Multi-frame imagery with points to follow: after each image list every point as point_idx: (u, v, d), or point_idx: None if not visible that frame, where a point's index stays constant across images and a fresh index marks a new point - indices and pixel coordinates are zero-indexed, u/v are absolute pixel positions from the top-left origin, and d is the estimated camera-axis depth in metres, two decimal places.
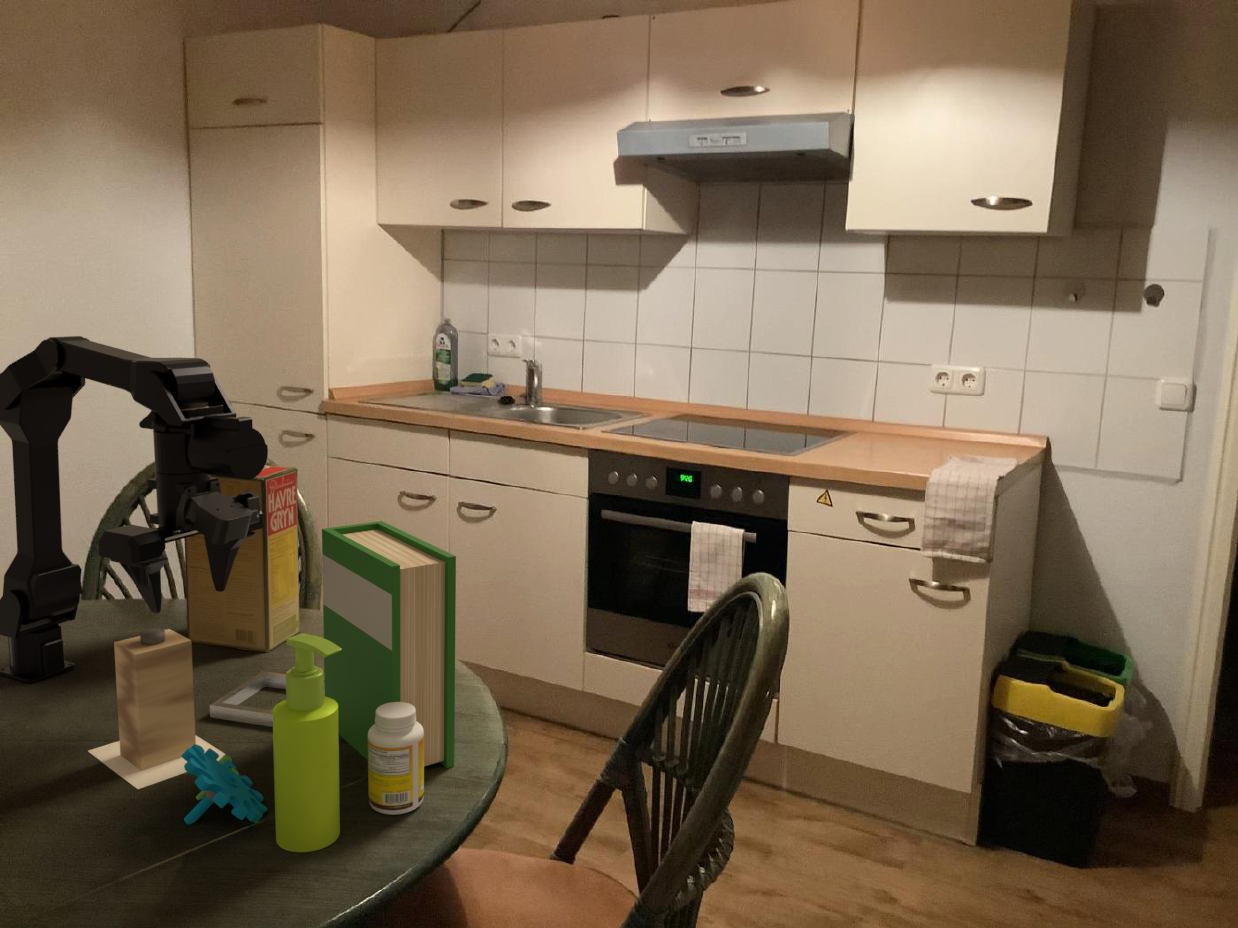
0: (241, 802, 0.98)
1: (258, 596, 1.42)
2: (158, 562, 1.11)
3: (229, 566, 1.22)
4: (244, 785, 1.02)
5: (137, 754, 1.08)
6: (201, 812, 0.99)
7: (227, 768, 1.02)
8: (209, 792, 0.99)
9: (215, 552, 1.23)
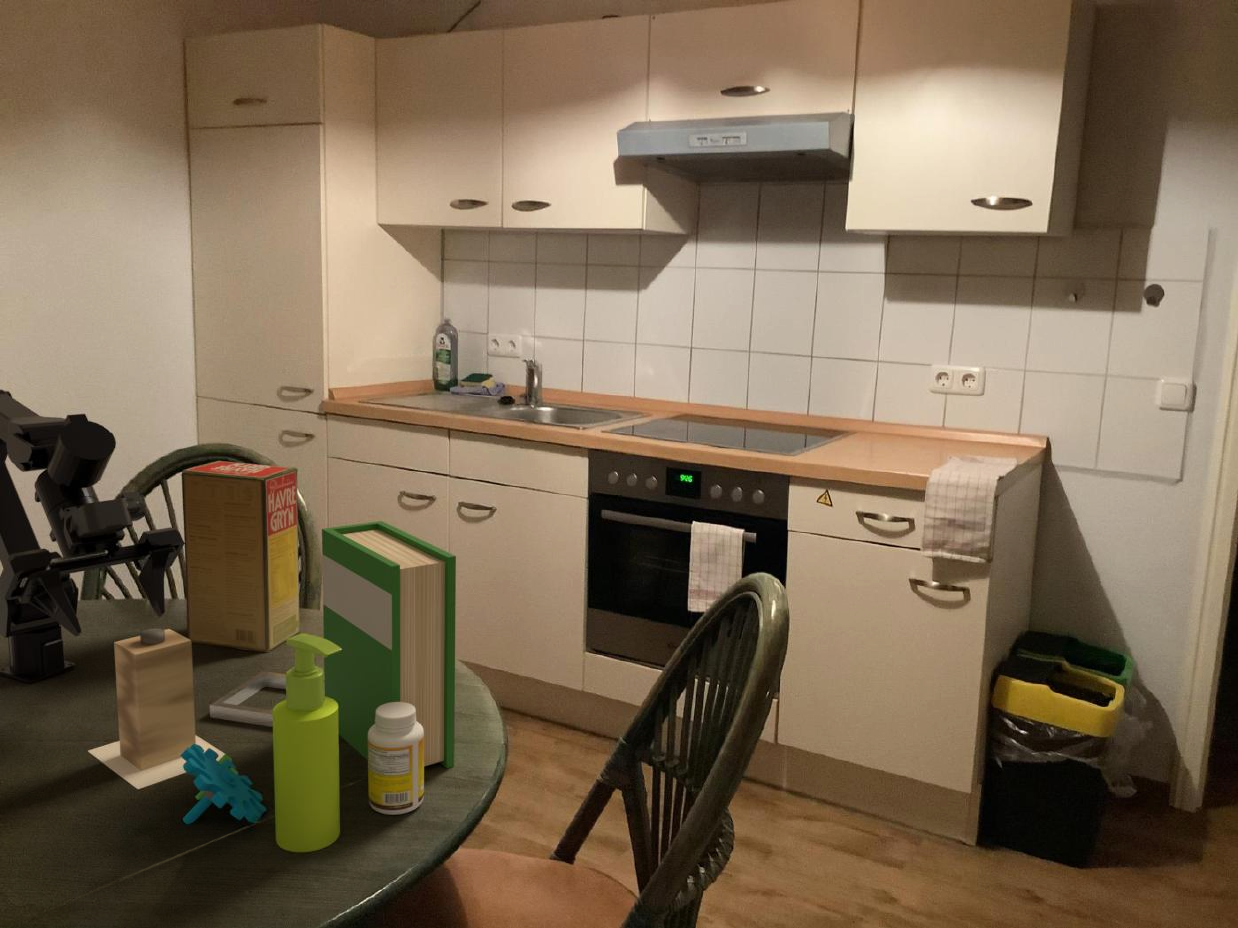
0: (240, 802, 0.98)
1: (258, 596, 1.42)
2: (47, 572, 1.10)
3: (159, 586, 1.19)
4: (243, 785, 1.02)
5: (137, 754, 1.08)
6: (200, 812, 0.99)
7: (226, 768, 1.02)
8: (208, 792, 0.99)
9: (147, 584, 1.20)
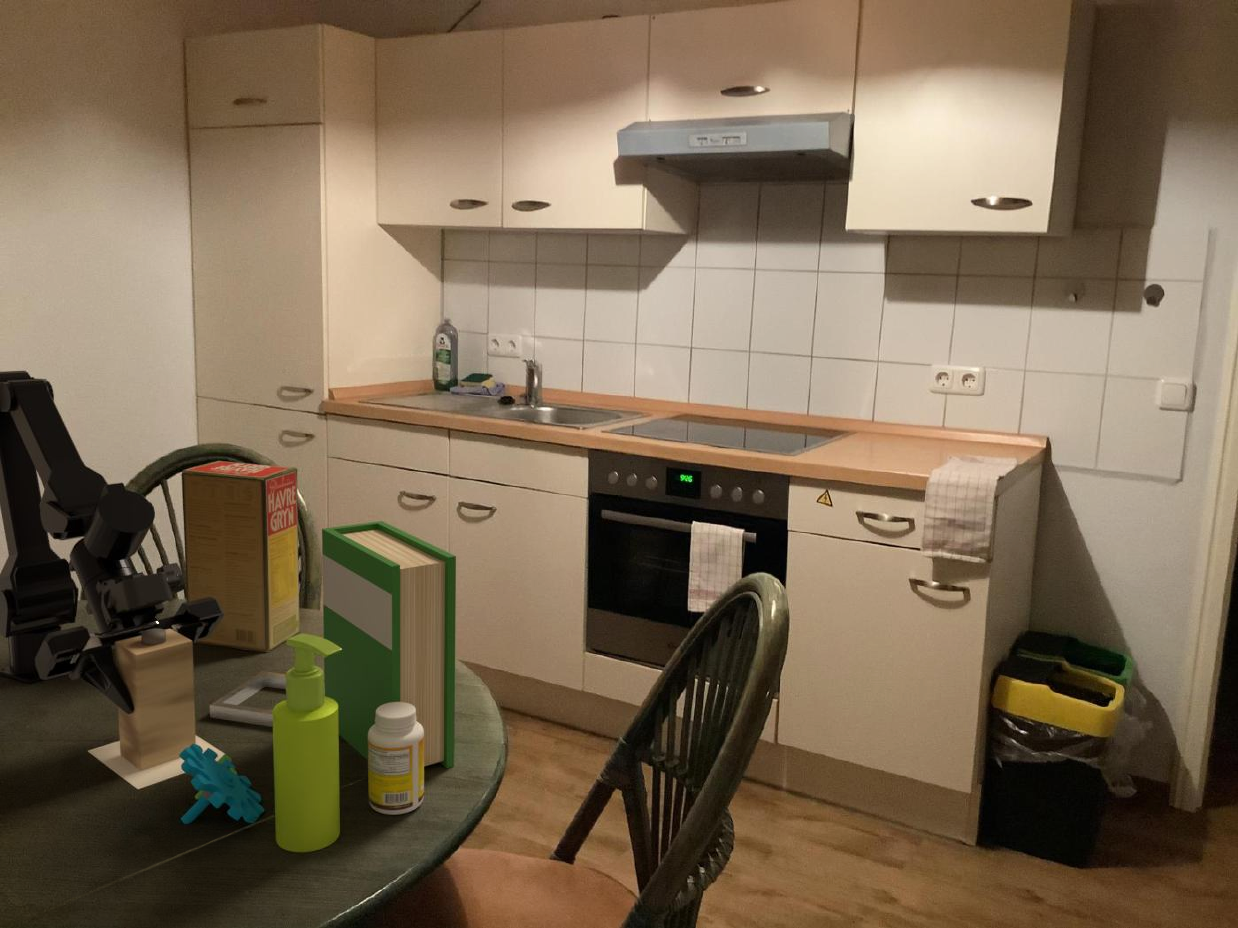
0: (237, 802, 0.97)
1: (258, 596, 1.42)
2: (99, 648, 1.07)
3: None
4: (242, 785, 1.02)
5: (137, 754, 1.08)
6: (198, 812, 0.99)
7: (225, 768, 1.02)
8: (206, 792, 0.99)
9: None
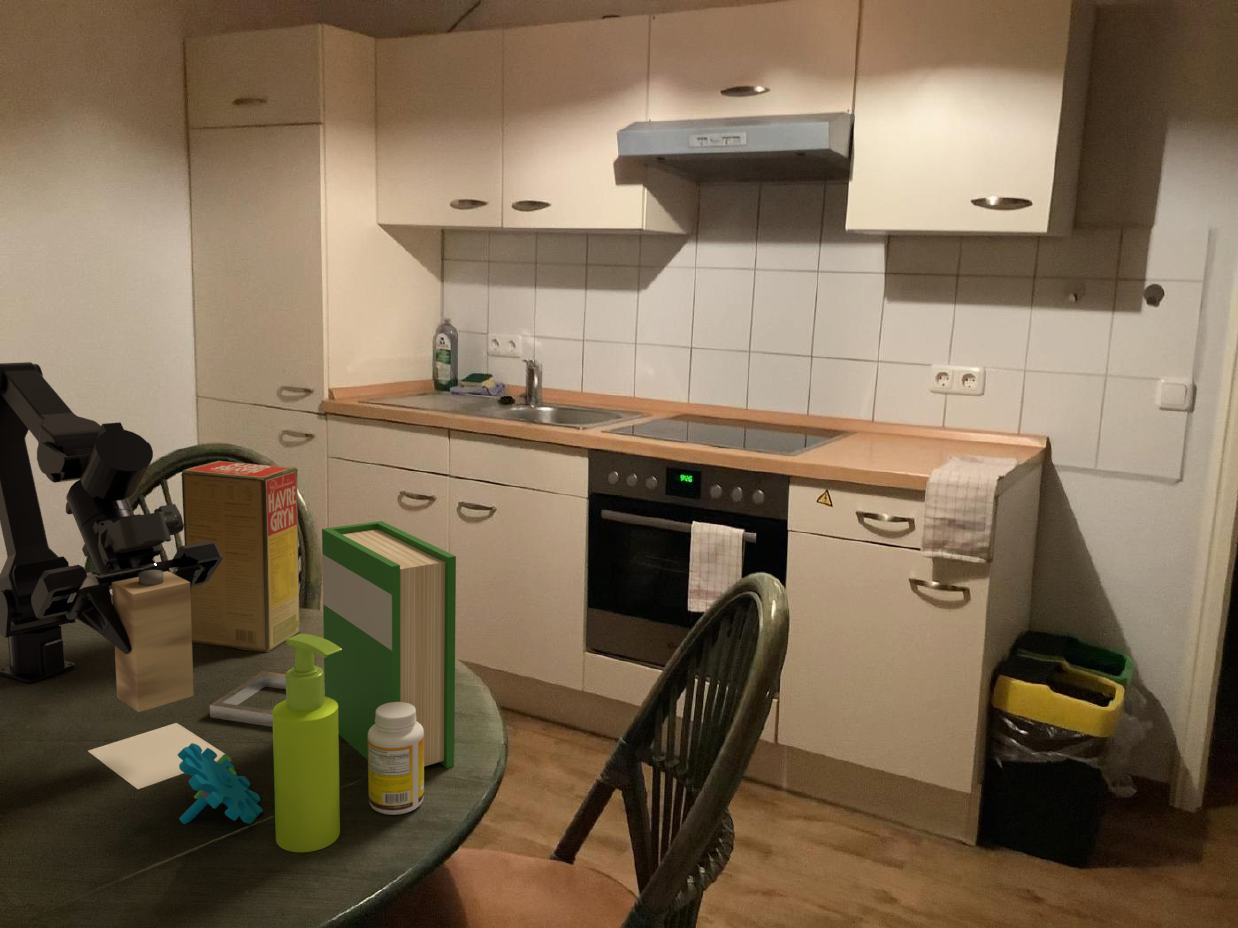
0: (235, 803, 0.97)
1: (258, 596, 1.42)
2: (97, 587, 1.06)
3: None
4: (241, 785, 1.02)
5: (134, 696, 1.07)
6: (196, 811, 0.99)
7: (224, 768, 1.02)
8: (204, 792, 0.99)
9: None
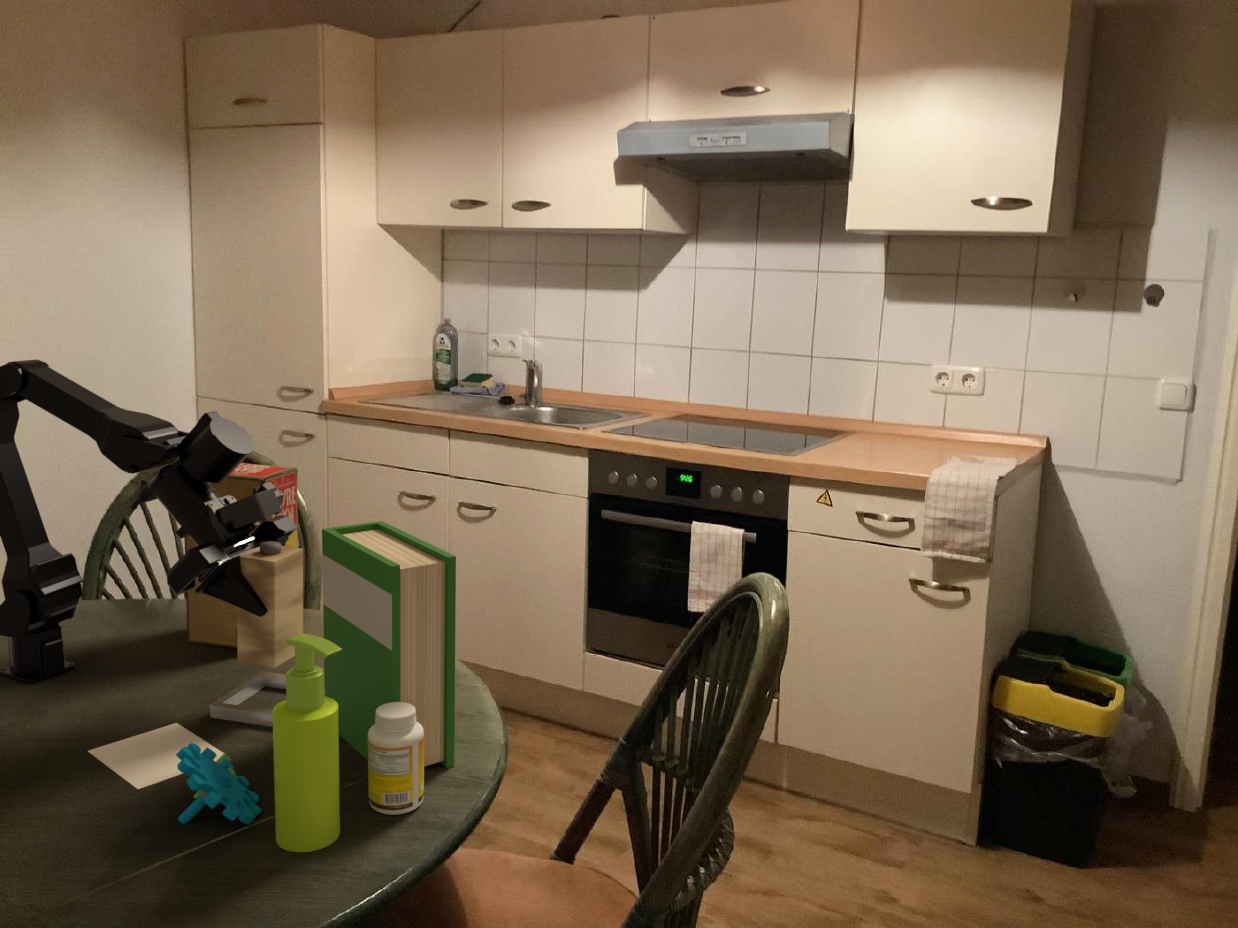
0: (233, 803, 0.97)
1: None
2: (234, 559, 1.17)
3: None
4: (240, 785, 1.02)
5: (269, 654, 1.20)
6: (195, 811, 0.99)
7: (223, 768, 1.02)
8: (203, 792, 0.99)
9: None
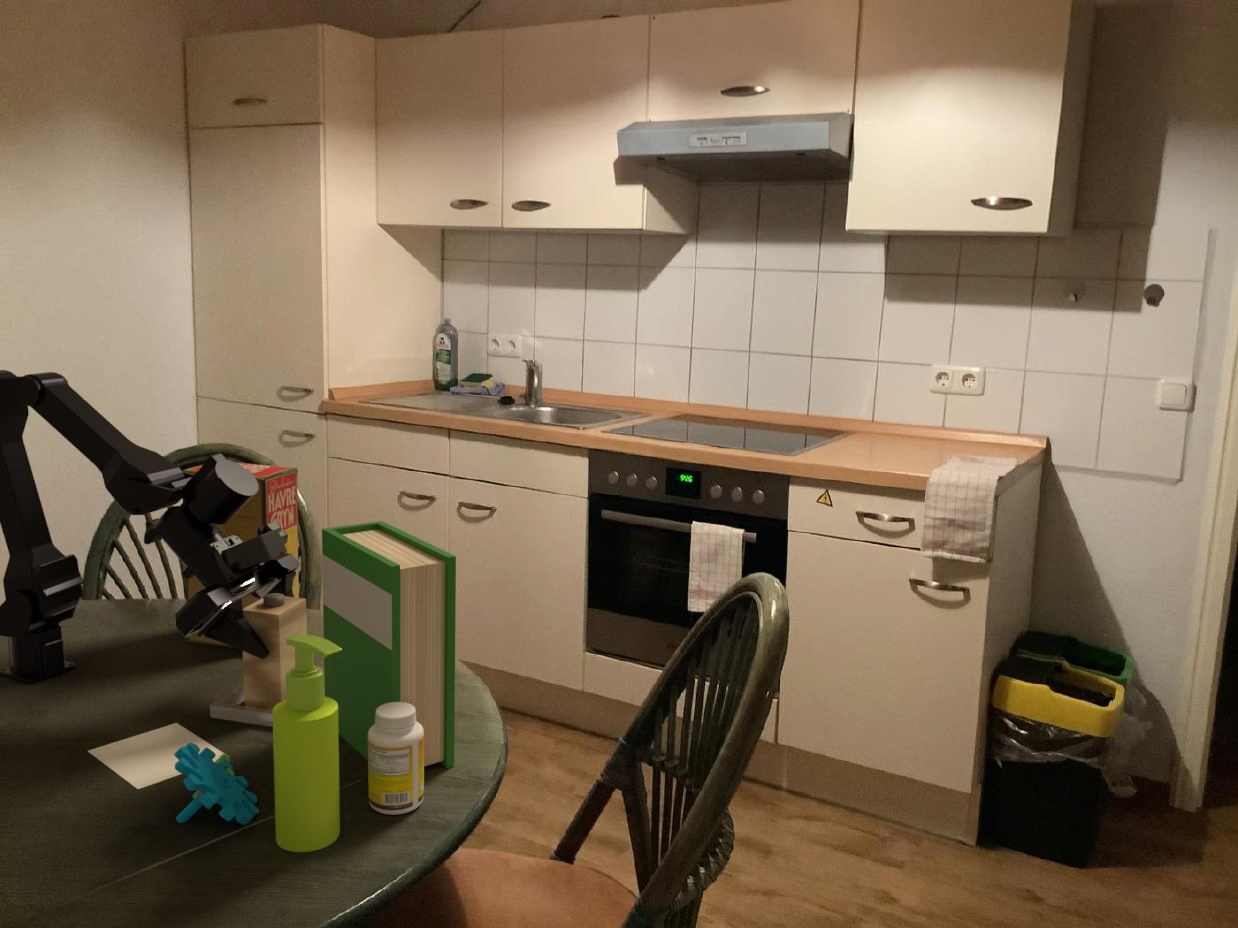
0: (230, 803, 0.97)
1: None
2: (236, 603, 1.18)
3: None
4: (238, 786, 1.02)
5: (276, 704, 1.22)
6: (193, 811, 0.99)
7: (222, 768, 1.02)
8: (201, 792, 0.99)
9: None
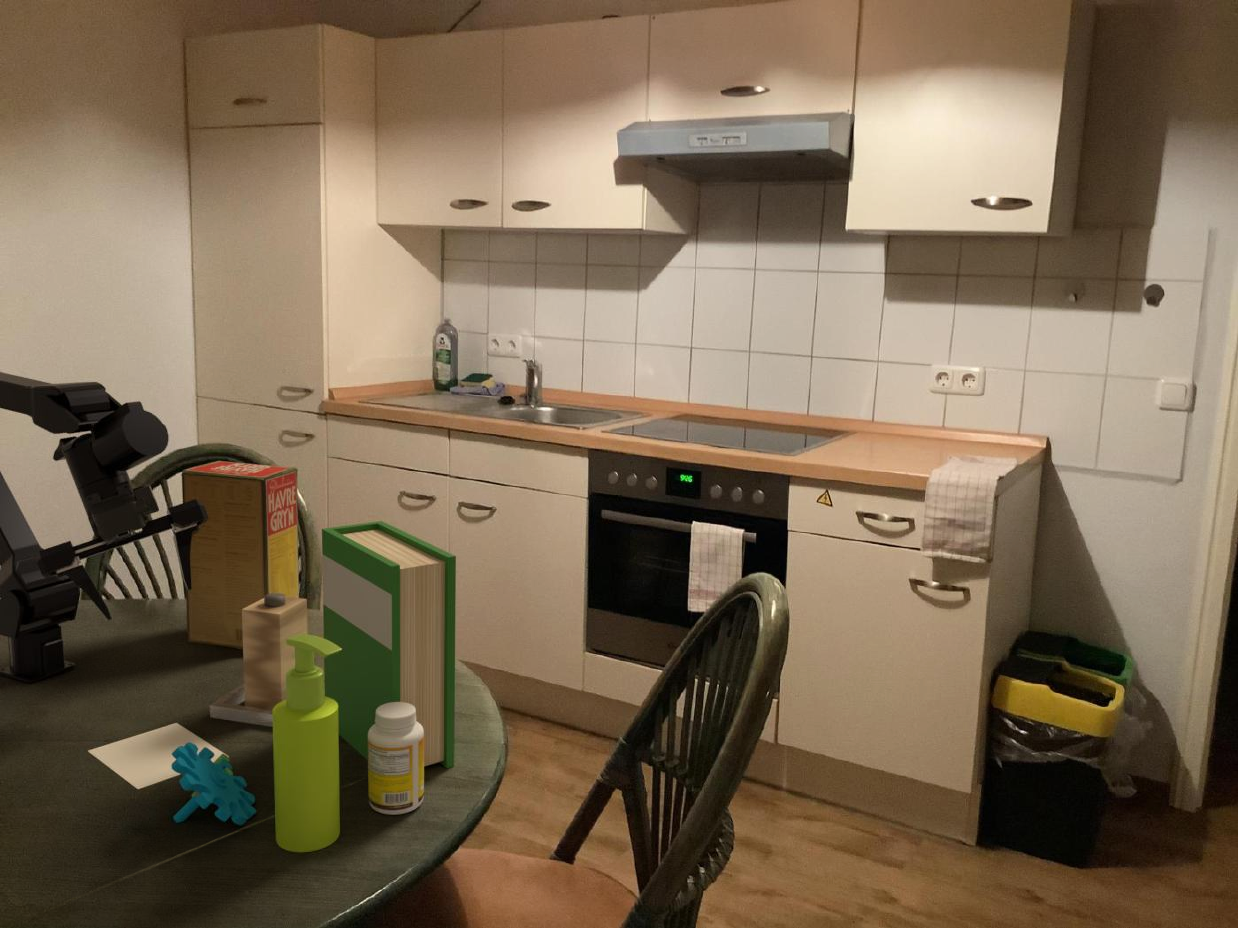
0: (226, 804, 0.97)
1: (258, 596, 1.42)
2: (72, 570, 1.17)
3: (185, 563, 1.23)
4: (236, 786, 1.02)
5: (276, 704, 1.22)
6: (190, 811, 0.99)
7: (220, 768, 1.02)
8: (198, 791, 0.99)
9: (177, 554, 1.25)
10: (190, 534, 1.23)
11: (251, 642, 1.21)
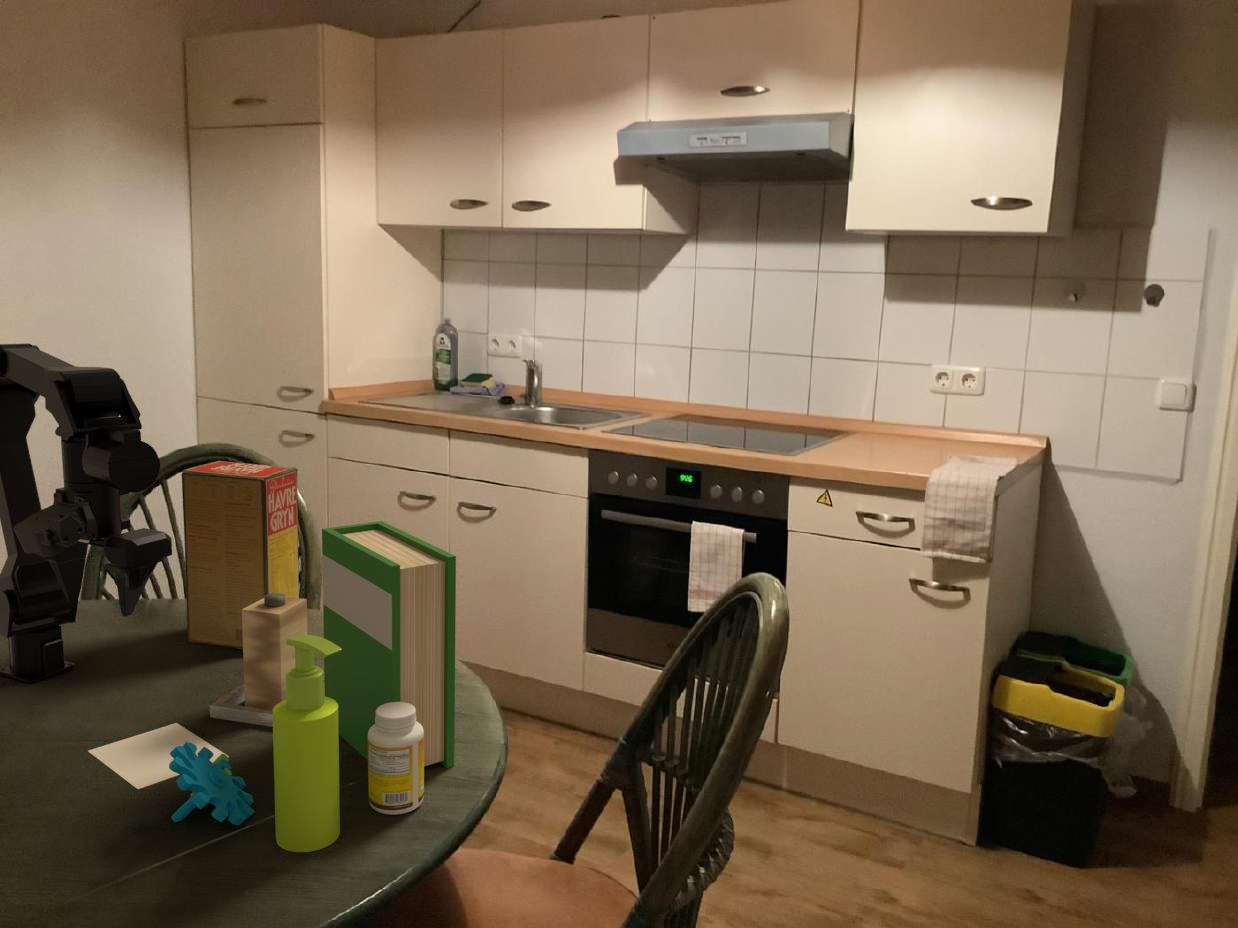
0: (223, 804, 0.97)
1: (258, 596, 1.42)
2: None
3: (120, 593, 1.16)
4: (234, 786, 1.02)
5: (276, 704, 1.22)
6: (188, 811, 0.99)
7: (219, 768, 1.02)
8: (196, 791, 0.99)
9: None
10: (119, 571, 1.14)
11: (251, 642, 1.21)
